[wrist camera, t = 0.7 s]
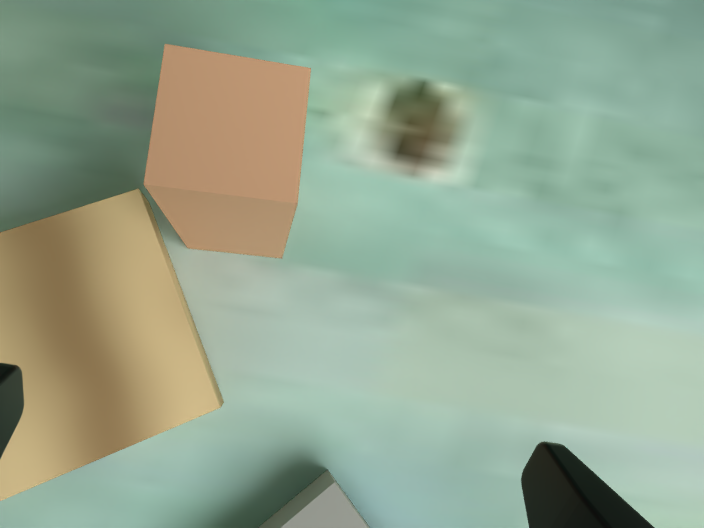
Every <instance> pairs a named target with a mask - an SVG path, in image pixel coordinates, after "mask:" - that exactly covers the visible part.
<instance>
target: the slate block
mask: <svg viewBox="0 0 704 528" xmlns="http://www.w3.org/2000/svg"><path fill="white" fill-rule="evenodd" d="M258 528H370V527H369V526H368V524H367V523H366V521H365V520H364V519H363V517H362V516H361V515H360V513H359V512H358V510H357V509H356V508H355V506H354V505H353V504H352V502H351V501H350V499H349V498H348V497H347V495H346V494H345V493H344V491H343V490H342V488H341V487H340V486H339V484H338V483H337V481H336V480H335V479H334V477H333V476H332V475H331V473H330V472H329V470H326V471H325V472H324V473H323V474H322V475H320V476H319V477H318V478H317V479H316V480H314V481H313V482H312V483H311V484H310V485H308V486H307V487H306V488H305V489H304V490H302V491H301V492H300V493H299V494H298V495H296V496H295V497H294V498H293V499H292V500H290V501H289V502H288V503H287V504H286V505H284V506H283V507H282V508H281V509H280V510H278V511H277V512H276V513H275V514H274V515H272V516H271V517H270V518H269V519H268V520H266V521H265V522H264V523H263V524H262V525H260V526H259V527H258Z"/></svg>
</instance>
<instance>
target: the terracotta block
mask: <svg viewBox="0 0 704 528" xmlns="http://www.w3.org/2000/svg"><path fill="white" fill-rule="evenodd" d="M310 72H311V68H306V67H300V66H294V65H288V64H283V63H277V62H271V61H265V60H259V59H253V58H247V57H241V56H235V55H229V54H223V53H217V52H211V51H205V50H199V49H193V48H187V47H181V46H175V45H169V44H165V46H164V53H163V59H162V66H161V72H160V79H159V85H158V92H157V99H156V105H155V112H154V118H153V125H152V131H151V138H150V145H149V151H148V158H147V164H146V171H145V177H144V186H145V187H146V189H147V190H148V192H149V193H150V195H151V196H152V197H153V199H154V200H155V202H156V203H157V205H158V206H159V207H160V209H161V210H162V212H163V213H164V215H165V216H166V218H167V219H168V220H169V222H170V223H171V225H172V226H173V228H174V229H175V231H176V232H177V233H178V235H179V236H180V238H181V239H182V241H183V242H184V243H185V245H186V246H187V248H189V249H199V250H208V251H217V252H227V253H236V254H246V255H255V256H264V257H274V258H282V256H283V253H284V249H285V246H286V242H287V239H288V235H289V232H290V228H291V225H292V221H293V218H294V214H295V211H296V207H297V204H298V194H299V183H300V173H301V163H302V153H303V143H304V133H305V123H306V113H307V103H308V93H309V82H310Z"/></svg>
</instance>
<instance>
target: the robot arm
mask: <svg viewBox="0 0 704 528" xmlns="http://www.w3.org/2000/svg"><path fill="white" fill-rule="evenodd" d="M23 409H24V392H23V377H22V370H21V368H20V367H19V366H17V365H13V364H7V363H0V459H1V457H2V455H3V453H4V451H5V449H6V447H7V445H8V443H9V441H10V439H11V437H12V435H13V433H14V431H15V429H16V427H17V425H18V423H19V421H20V418H21V416H22V413H23ZM521 483H522V490H523V496H524V501H525V507H526V512H527V518H528V523H529V528H654V527H653V526H652V525H651V524H650V523H649V522H648V521H647V520H645V519H644V518H643V517H642V516H641V515H640V514H639V513H638V512H637V511H636V510H634V509H633V508H632V507H631V506H630V505H629V504H628V503H627V502H626V501H625V500H623V499H622V498H621V497H620V496H619V495H618V494H617V493H616V492H615V491H614V490H612V489H611V488H610V487H609V486H608V485H607V484H606V483H605V482H604V481H603V480H601V479H600V478H599V477H598V476H597V475H596V474H595V473H594V472H593V471H592V470H590V469H589V468H588V467H587V466H586V465H585V464H584V463H583V462H582V461H581V460H579V459H578V458H577V457H576V456H575V455H574V454H573V453H572V452H571V451H570V450H568V449H567V448H566V447H565V446H564V445H561V444H558V443H551V442H541V443H539V444H538V445H537V446H536V448H535V450H534V452H533V453H532V455H531V457H530V459H529V461H528V463H527V464H526V466H525V468H524V470H523V473H522V478H521Z"/></svg>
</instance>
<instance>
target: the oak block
mask: <svg viewBox="0 0 704 528" xmlns="http://www.w3.org/2000/svg"><path fill="white" fill-rule="evenodd" d="M0 363H7V364H13V365H17V366H19V367H20V368H21V370H22V377H23V392H24V409H23V413H22V416H21V418H20V421H19V423H18V425H17V427H16V429H15V431H14V433H13V435H12V437H11V439H10V441H9V443H8V445H7V447H6V449H5V451H4V453H3V455H2V457H1V459H0V501H1V500H4V499H6V498H8V497H11V496H13V495H15V494H18V493H20V492H23V491H25V490H27V489H30V488H32V487H34V486H37V485H39V484H41V483H44V482H46V481H48V480H51V479H53V478H56V477H58V476H60V475H63V474H65V473H67V472H70V471H72V470H74V469H77V468H79V467H82V466H84V465H86V464H89V463H91V462H93V461H96V460H98V459H100V458H103V457H105V456H107V455H110V454H112V453H115V452H117V451H119V450H122V449H124V448H126V447H129V446H131V445H133V444H136V443H138V442H141V441H143V440H145V439H148V438H150V437H152V436H155V435H157V434H159V433H162V432H164V431H166V430H169V429H171V428H174V427H176V426H178V425H181V424H183V423H185V422H188V421H190V420H192V419H195V418H197V417H200V416H202V415H204V414H207V413H209V412H211V411H214V410H216V409H218V408H220V407H221V406H222V404H223V403H224V401H223V399H222V396H221V393H220V391H219V388H218V385H217V383H216V380H215V377H214V374H213V372H212V369H211V366H210V364H209V361H208V358H207V356H206V353H205V350H204V348H203V345H202V342H201V340H200V337H199V334H198V332H197V329H196V326H195V324H194V321H193V318H192V316H191V313H190V310H189V308H188V305H187V302H186V300H185V297H184V294H183V292H182V289H181V286H180V284H179V281H178V278H177V276H176V273H175V270H174V268H173V265H172V262H171V260H170V257H169V254H168V252H167V249H166V246H165V244H164V241H163V238H162V236H161V233H160V230H159V228H158V225H157V222H156V220H155V217H154V214H153V212H152V209H151V206H150V204H149V202H148V201H147V199H146V198H145V196H144V195H143V194H142V192H141V191H140V190H139V189H136V190H132V191H129V192H126V193H123V194H120V195H117V196H114V197H110V198H107V199H104V200H101V201H98V202H95V203H91V204H88V205H85V206H82V207H79V208H76V209H73V210H69V211H66V212H63V213H60V214H57V215H54V216H51V217H47V218H44V219H41V220H38V221H35V222H32V223H28V224H25V225H22V226H19V227H16V228H13V229H10V230H6V231H3V232H0Z"/></svg>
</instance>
